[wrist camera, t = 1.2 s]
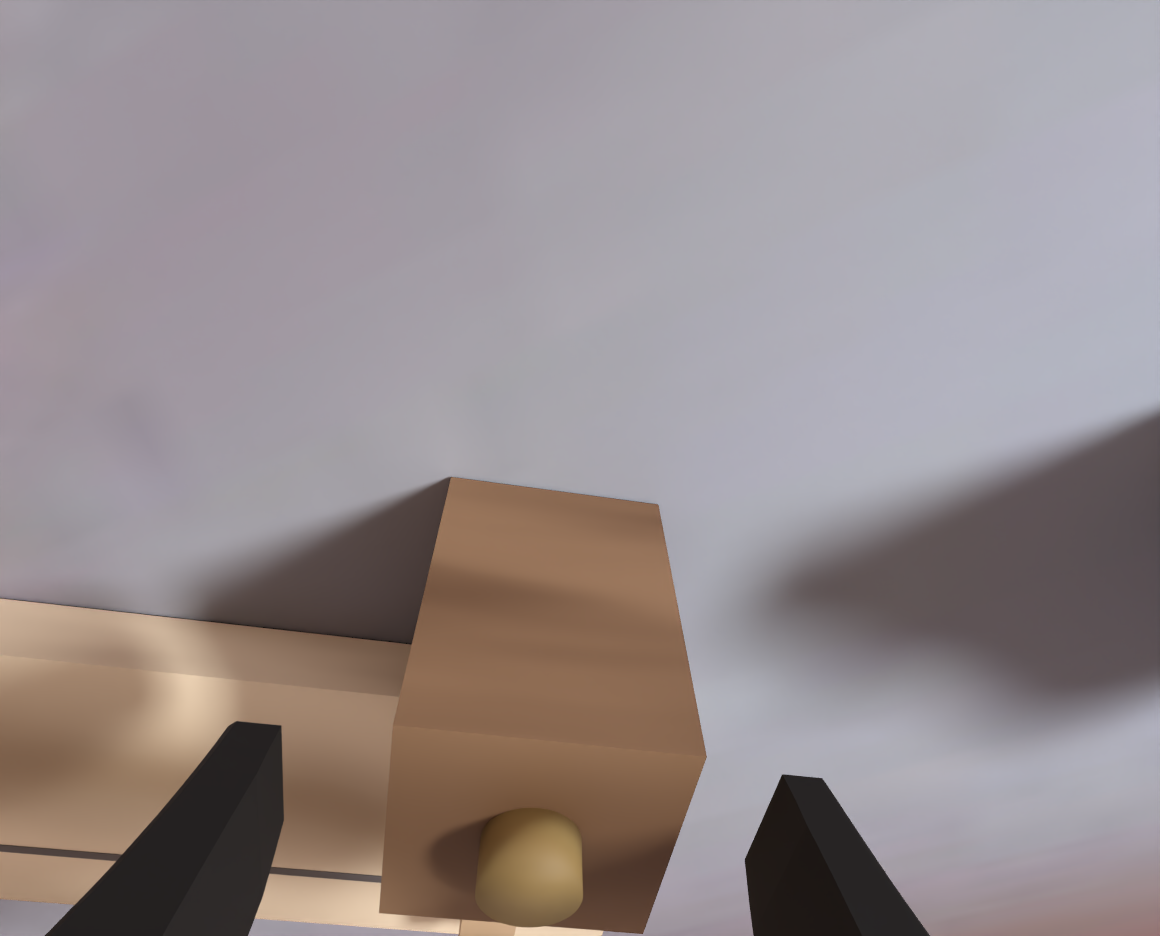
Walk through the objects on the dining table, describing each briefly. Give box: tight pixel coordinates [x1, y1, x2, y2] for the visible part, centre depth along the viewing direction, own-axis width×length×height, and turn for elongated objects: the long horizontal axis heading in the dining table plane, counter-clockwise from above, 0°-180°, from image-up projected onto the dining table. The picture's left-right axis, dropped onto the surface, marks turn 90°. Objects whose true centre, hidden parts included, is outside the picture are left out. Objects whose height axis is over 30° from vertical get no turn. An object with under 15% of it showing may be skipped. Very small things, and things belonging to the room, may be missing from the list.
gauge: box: [379, 477, 707, 936], centre depth 15 cm, size 11×4×7 cm, turn 170°
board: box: [0, 599, 603, 936], centre depth 18 cm, size 8×18×2 cm, turn 80°
